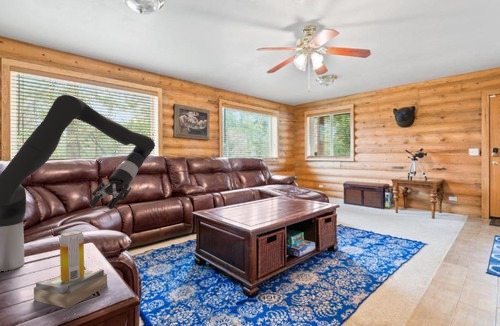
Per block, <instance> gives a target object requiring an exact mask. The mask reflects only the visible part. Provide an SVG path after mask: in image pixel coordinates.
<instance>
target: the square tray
mask: <svg viewBox="0 0 500 326" xmlns="http://www.w3.org/2000/svg"><path fill="white" fill-rule="evenodd" d="M107 286H108V273H105V270H104V269H99V270H97V271H93V270H87V269H84V276H83V277H82V278H81V279H80V280H78V281H76V282H72V283H64V282H63V281H61V274H60V275H59V276H55V277H53V278H52V279H50V280H47V281H43V280H39V281H37V282H35V286H34V287H33V300H34V301H35V302H39V303H43V304H48V305H52V306H54V307H60V308H64V309H67V310H68V309H70V308H72V307H73V306H76V305H77V304H78V303H80V302H82V301H84V300H85V299H87V298H89V297H90V296H92V295H94V294H96V293H97V292H99V291H100V290H102V289H104V288H106V287H107Z"/></svg>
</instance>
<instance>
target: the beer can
mask: <svg viewBox="0 0 500 326" xmlns="http://www.w3.org/2000/svg"><path fill="white" fill-rule="evenodd" d="M84 240H85V239H84V232H83V230H68V231H65V232H62V233H61V234H60V237H59V255H60V256H59V257H60V258H59V259H60V262H59V263H60V275H61V281H63V282H64V283H72V282H76V281H78V280H80V279H81V278H82V277H83V276H84V270H85V245H84V244H85V241H84Z"/></svg>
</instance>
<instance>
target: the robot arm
mask: <svg viewBox="0 0 500 326" xmlns="http://www.w3.org/2000/svg"><path fill="white" fill-rule="evenodd" d="M74 120H77V121H81V122H82V123H86V124H88V125H90V126H92V127H93V128H95V129H97V130H98V131H100V132H101V133H102V134H104V135H105V136H107V137H109V138H111V139H112V140H114V141H116V142H118V143H120V144H122V145H123V146H129V145H132V146H134V148H133V149H132V150H131V152H130V153H129V154H127V155H126V157H125V158H124V159H123V161H122V162H121V163H120V164H118V166H117V167H116V168H115V169H114V171H113V173H111V175H110V176H109V177H108V178H109V181H108V182H107V183H106V184H104V182H101V183H99V185H98V186H97V187H96V188H95V189H94V190H93V192H92V193H91V195H92V196H93V198H92V199H91V201H89V203H88V206H89V207H91V208H96V206H97V204H98V203H100V201H101V200H102V199H103V198H107V197H108V196H113V198H111V199H110V201H109V202H108V203H107V205H106V208H108V209H109V210H113V209H114V208H115V206H116V205H117V203H118V202H121V201H124V200H126V199H127V196H128V195H129V194H130V192H131V190H132V187H131V185H130V184H131V182H132V181H133V180H134V178H135V177H136V176H137V173H138V171H140V169H141V167H142V166H143V164H144V162H145V160H146V159H147V158H148V157H149V155H151V153H152V152H153V150H154V149H155V146H156V143H155V141H154V140H153V139H152V138H151V137H150V136H148V135H146V134H142V133H140V132H135V131H132V130H130V129H129V128H127V127H126V126H124V125H122V124H120V123H118V122H116V121H114V120H113V119H110V118H108V117H107V116H104V115H103V114H101V113H99V112H98V111H97V110H95V109H93V108H92V107H91V106H90V105H88V104H87V103H86V102H84V101H83V100H82V99H81V98H80V97H78V96H76V95H74V94H73V95H72V94H61V95H59V96H58V97H56V98H55V100H54V101H53V103H52V105H51V106H50V109H49V110H48V112H47V113H46V115H45V117H44V119H43V120H42V121H41V123H39V125H38V126H37V127H36V128H35V129H34V130H33V132H32V133H31V134H30V135H29V137H28V138H27V139H26V140H25V142H23V143H22V145H21V146H20V148H19V150H18V151H17V153H16V154H15V155H14V157H13V158H12V159H11V160H10V162H9V163H8V164H7V165H6V167H5V168H4V169H3V170H2V172H1V173H0V273H2V272H1V271H4V272H9V271H12V270H15V269H18V268H20V267H23V266H24V265H25V239H24V238H25V236H24V235H25V234H24V217H25V214H26V211H27V193H26V189H25V187H24V186H23V185H22V183H23V182H24V181H25V180H26V179H27V178H28V177H29V176H31V175H32V174H33V173H35V172H36V171H38V170H39V169H40V168H41V167H43V166H44V165H45V164H47V162H48V161H49V159H50V158H51V157H52V155H53V154H54V152H55V151H56V149H57V147H58V146H59V143H60V141H61V137H62V135H63V133H64V132H65V130H66V129H67V127H69V126H70V124H71V123H72V122H73V121H74ZM8 270H9V271H8Z"/></svg>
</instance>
